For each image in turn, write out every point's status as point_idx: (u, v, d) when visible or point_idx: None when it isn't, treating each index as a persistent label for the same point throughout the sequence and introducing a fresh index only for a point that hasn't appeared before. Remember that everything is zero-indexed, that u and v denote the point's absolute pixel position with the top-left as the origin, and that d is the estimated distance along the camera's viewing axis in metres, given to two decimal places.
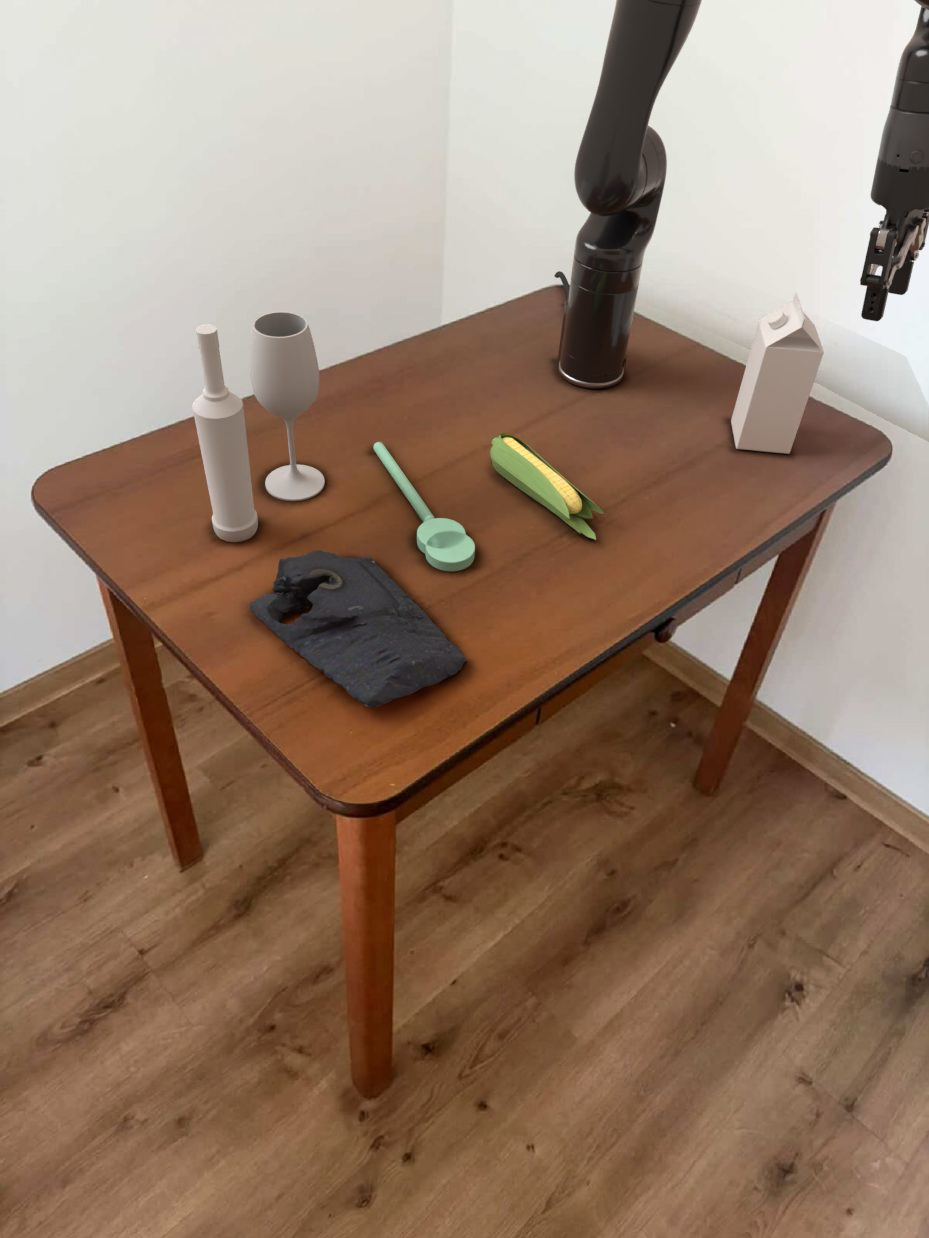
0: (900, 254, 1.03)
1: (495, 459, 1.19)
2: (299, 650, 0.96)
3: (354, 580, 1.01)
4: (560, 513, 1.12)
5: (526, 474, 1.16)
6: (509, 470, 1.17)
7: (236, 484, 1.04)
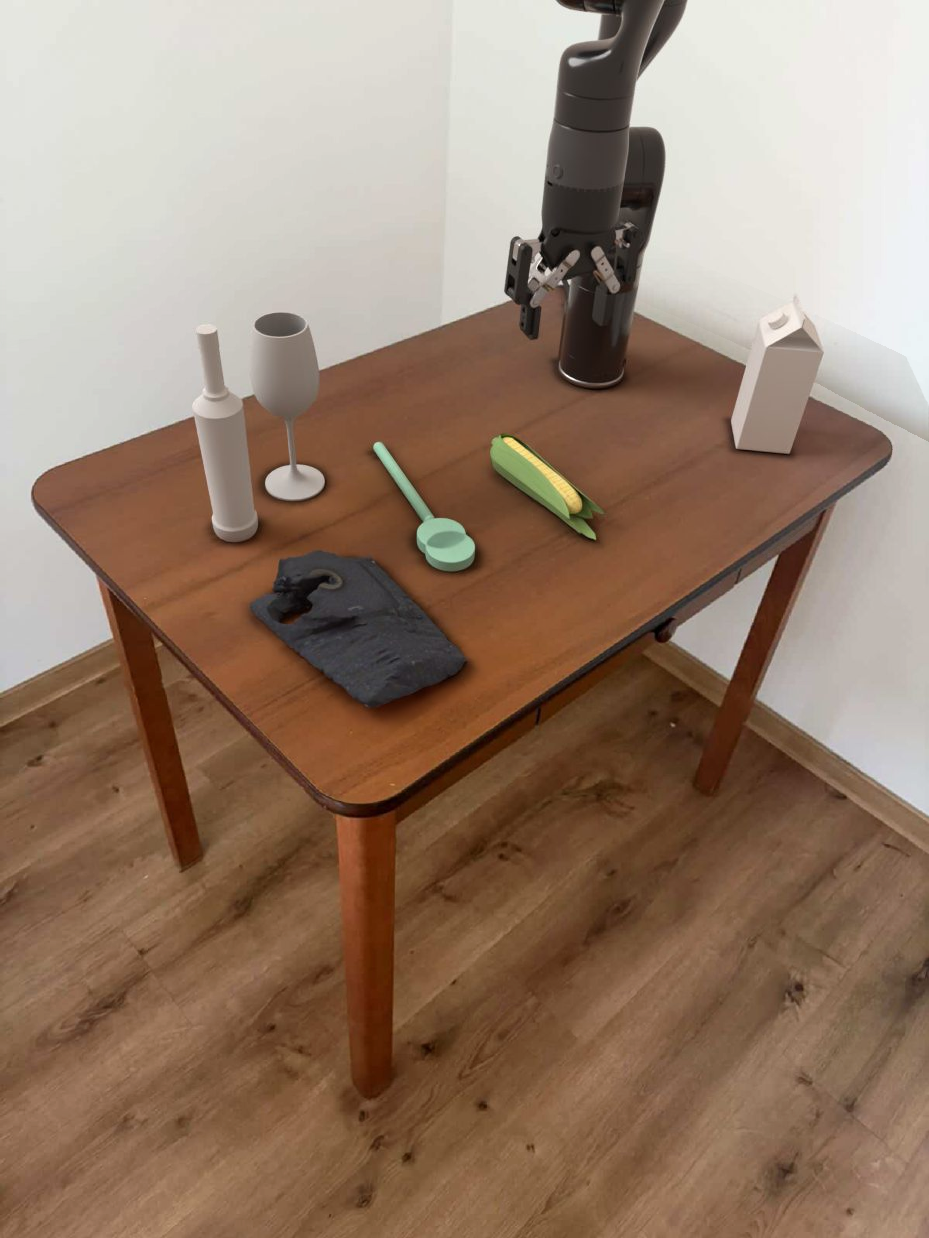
0: (550, 275, 0.96)
1: (495, 459, 1.19)
2: (299, 650, 0.96)
3: (354, 580, 1.01)
4: (560, 513, 1.12)
5: (526, 474, 1.16)
6: (509, 470, 1.17)
7: (236, 484, 1.04)
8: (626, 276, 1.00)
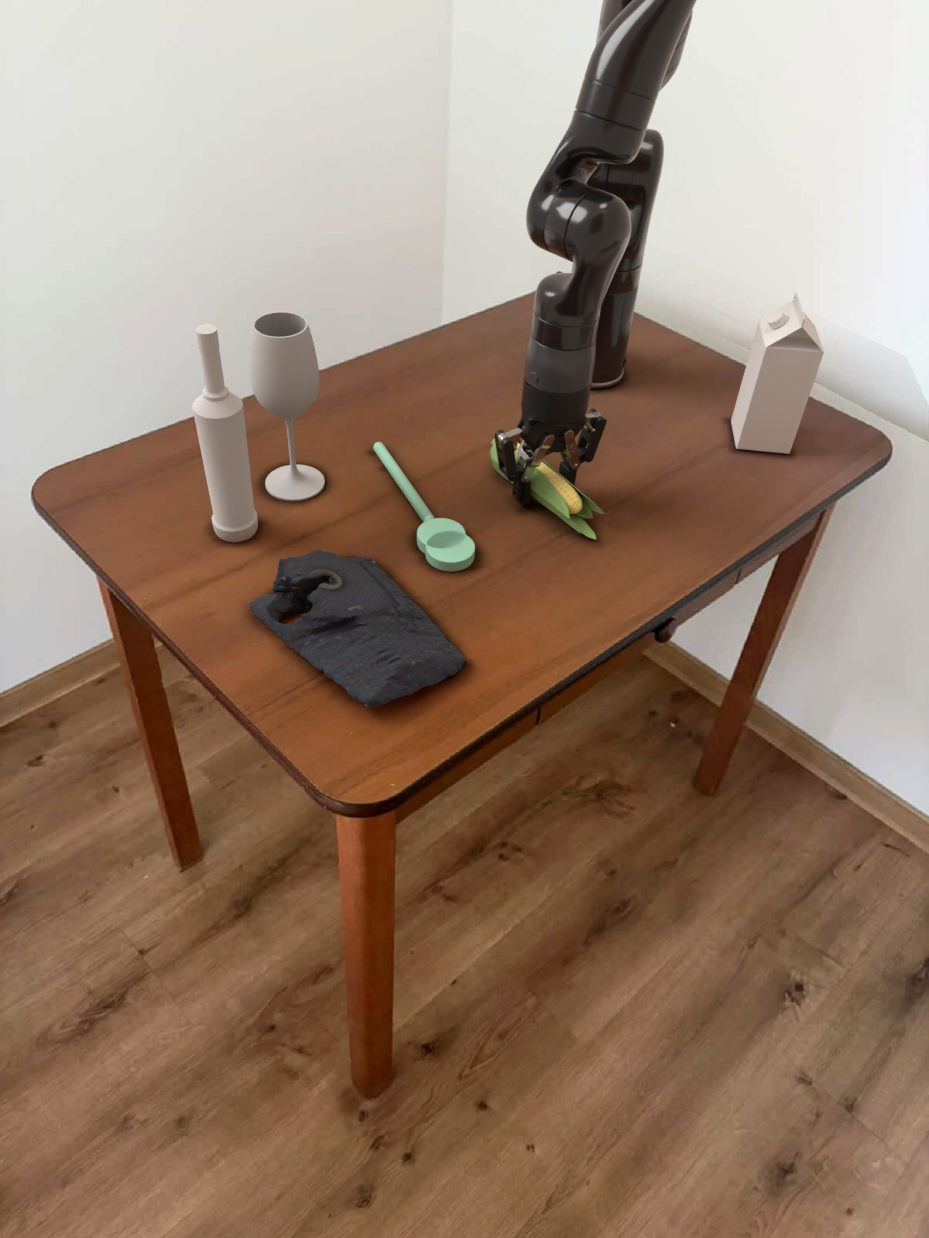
0: (533, 457, 1.11)
1: (495, 459, 1.19)
2: (299, 650, 0.96)
3: (354, 580, 1.01)
4: (561, 513, 1.12)
5: None
6: None
7: (236, 484, 1.04)
8: (585, 456, 1.15)
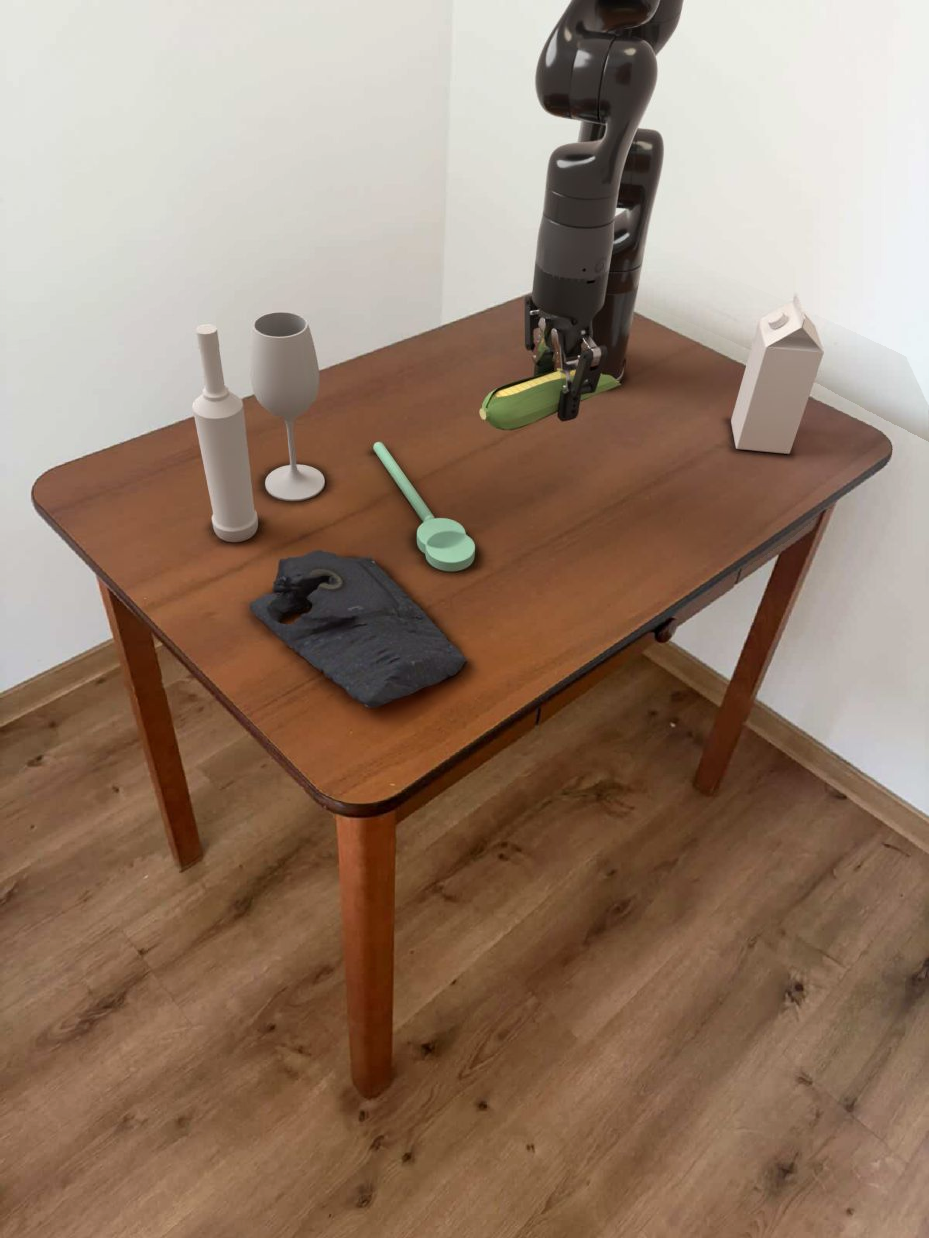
0: None
1: (521, 415, 1.03)
2: (299, 650, 0.96)
3: (354, 580, 1.01)
4: (605, 385, 1.09)
5: (557, 392, 1.05)
6: (541, 407, 1.04)
7: (236, 484, 1.04)
8: None
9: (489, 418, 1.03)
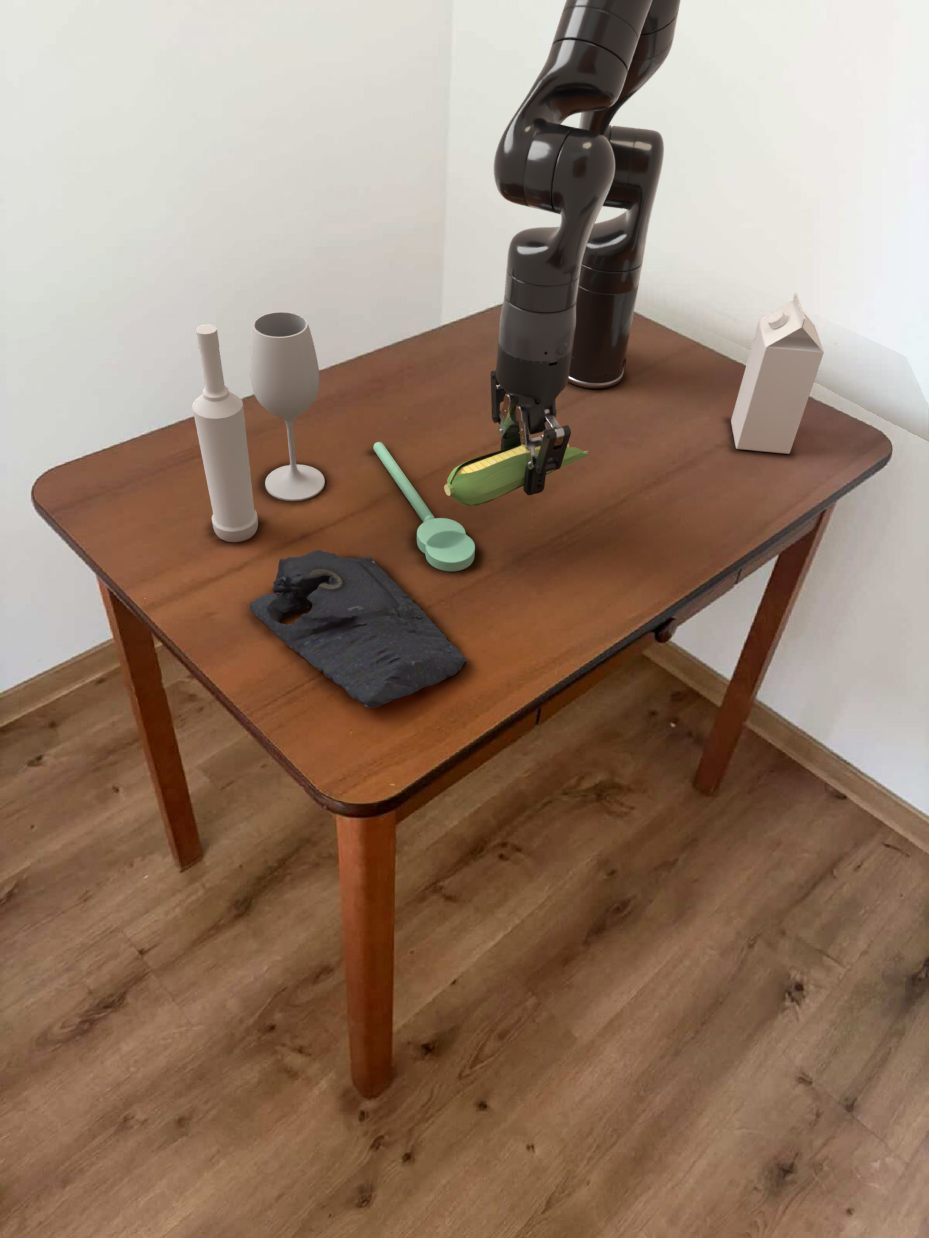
0: None
1: (486, 491, 1.02)
2: (299, 650, 0.96)
3: (354, 580, 1.01)
4: (572, 457, 1.08)
5: (522, 466, 1.04)
6: (507, 482, 1.04)
7: (236, 484, 1.04)
8: None
9: (454, 494, 1.02)
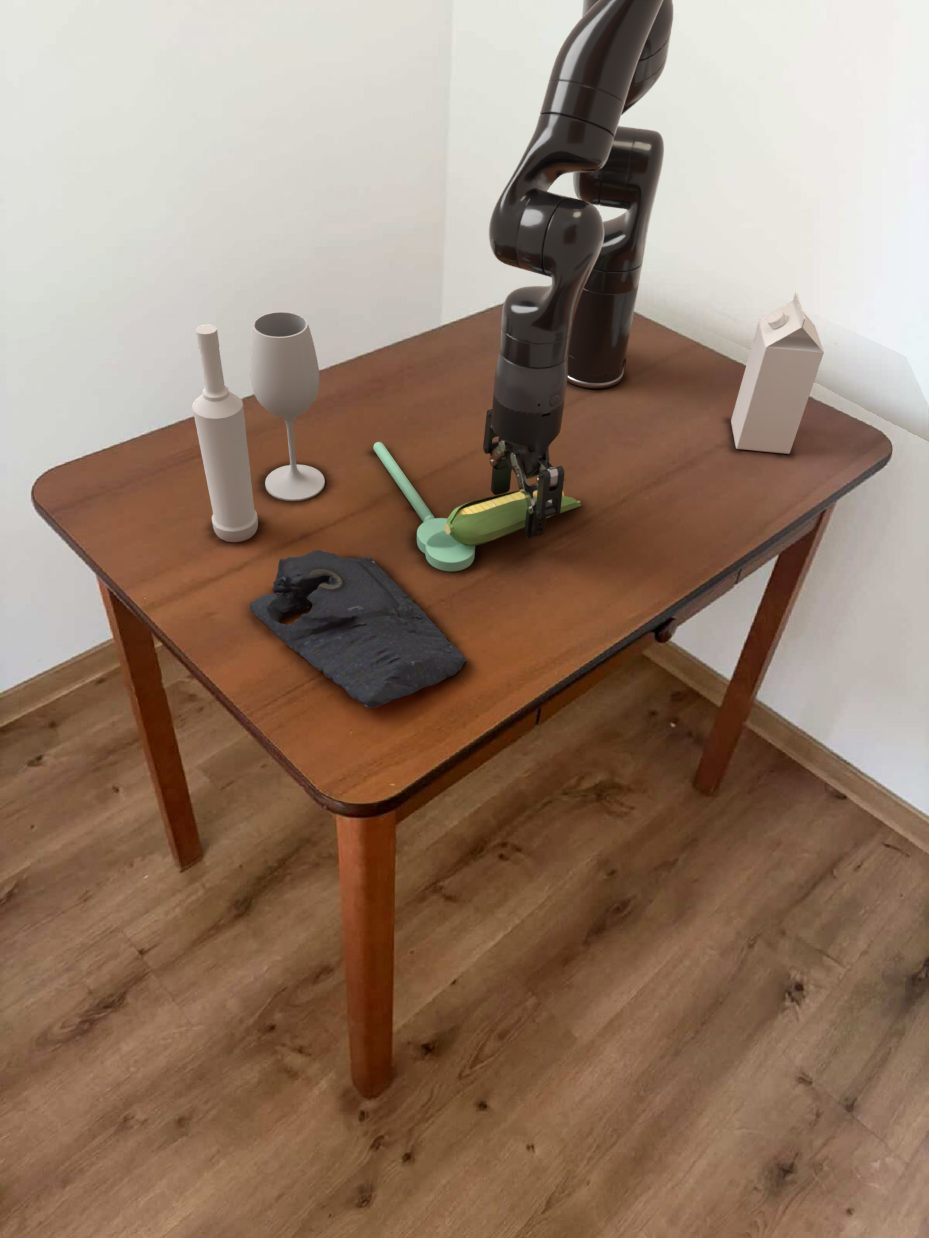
0: None
1: (484, 532, 1.06)
2: (299, 650, 0.96)
3: (354, 580, 1.01)
4: (566, 506, 1.13)
5: (520, 511, 1.09)
6: (504, 525, 1.08)
7: (236, 484, 1.04)
8: None
9: (453, 533, 1.06)
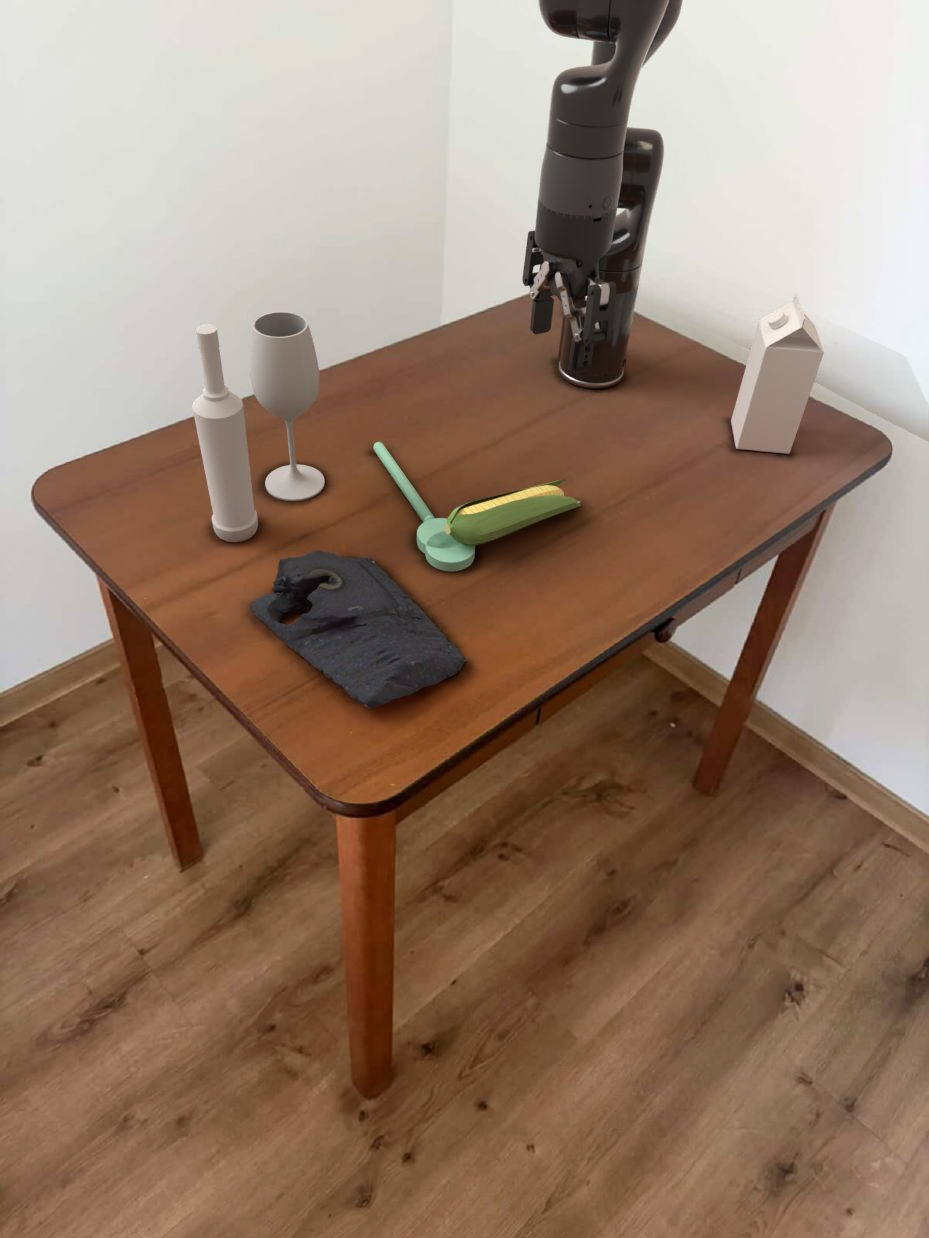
0: None
1: (484, 532, 1.06)
2: (299, 650, 0.96)
3: (354, 580, 1.01)
4: (566, 506, 1.13)
5: (520, 511, 1.09)
6: (504, 525, 1.08)
7: (236, 484, 1.04)
8: None
9: (453, 533, 1.06)
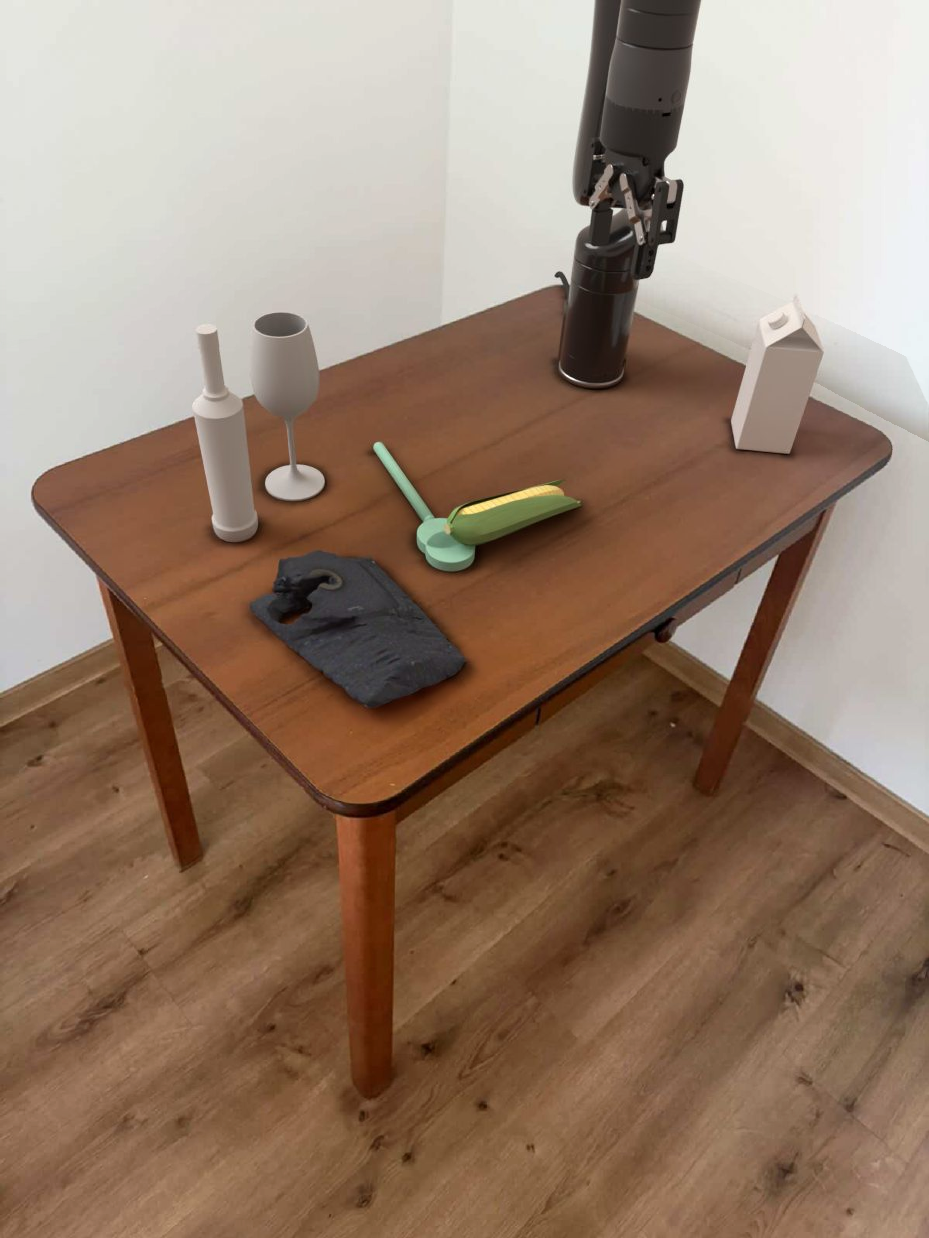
0: None
1: (484, 532, 1.06)
2: (299, 650, 0.96)
3: (354, 580, 1.01)
4: (566, 506, 1.13)
5: (520, 511, 1.09)
6: (504, 525, 1.08)
7: (236, 484, 1.04)
8: None
9: (453, 533, 1.06)
